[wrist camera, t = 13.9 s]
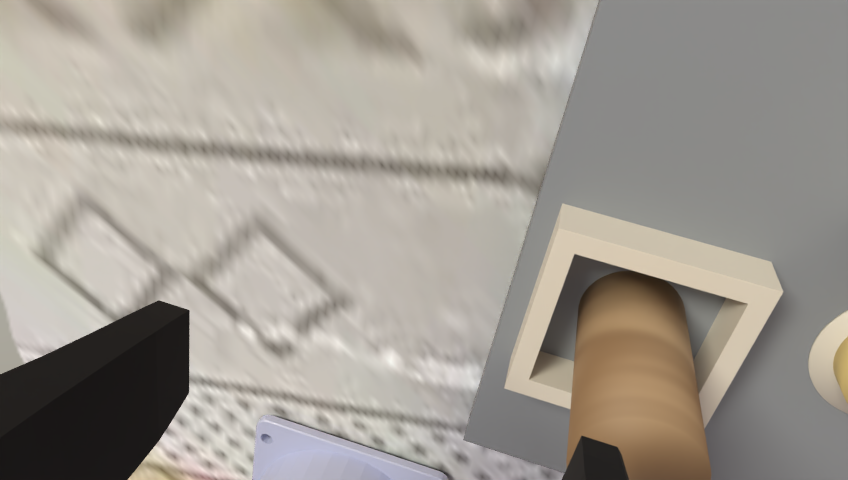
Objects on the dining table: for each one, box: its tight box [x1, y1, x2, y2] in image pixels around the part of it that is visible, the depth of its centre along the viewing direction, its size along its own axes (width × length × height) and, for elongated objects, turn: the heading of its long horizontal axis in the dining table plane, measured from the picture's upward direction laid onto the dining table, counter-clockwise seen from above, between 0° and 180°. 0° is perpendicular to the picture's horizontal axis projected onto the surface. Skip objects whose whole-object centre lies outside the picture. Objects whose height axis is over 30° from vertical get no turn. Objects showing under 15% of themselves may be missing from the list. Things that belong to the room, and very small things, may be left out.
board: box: [464, 0, 848, 480], centre depth 18 cm, size 18×14×3 cm
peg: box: [566, 271, 711, 480], centre depth 17 cm, size 3×3×6 cm
